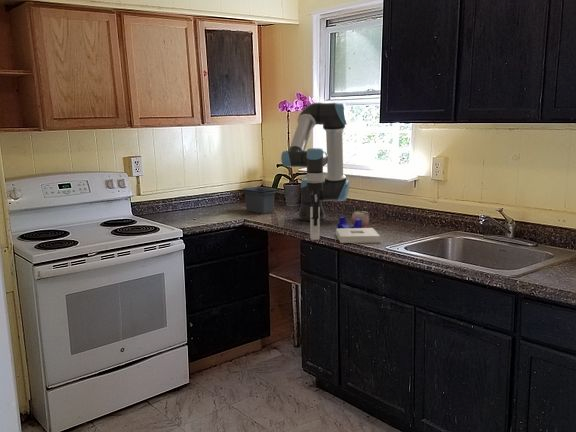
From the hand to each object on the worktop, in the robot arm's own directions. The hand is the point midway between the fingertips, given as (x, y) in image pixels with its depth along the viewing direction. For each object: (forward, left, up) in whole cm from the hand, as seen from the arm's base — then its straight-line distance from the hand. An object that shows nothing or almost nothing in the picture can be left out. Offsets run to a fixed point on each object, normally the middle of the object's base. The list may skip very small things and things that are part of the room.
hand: (314, 231), depth 260 cm
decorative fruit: (-23, +25, -4) cm, 34 cm away
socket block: (0, +20, -4) cm, 20 cm away
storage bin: (-77, -27, -4) cm, 82 cm away
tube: (0, 0, -4) cm, 4 cm away
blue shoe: (-19, +19, -4) cm, 27 cm away
